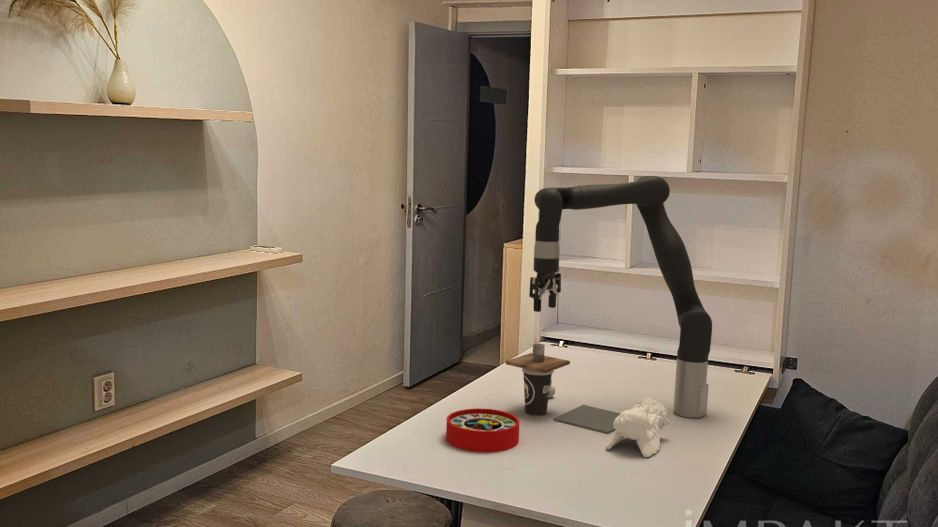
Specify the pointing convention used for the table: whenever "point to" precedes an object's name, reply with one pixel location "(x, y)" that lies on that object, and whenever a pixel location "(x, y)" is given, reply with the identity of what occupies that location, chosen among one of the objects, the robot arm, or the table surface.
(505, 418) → the toy clock
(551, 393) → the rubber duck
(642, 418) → the white lumpy figure
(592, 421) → the charcoal mat
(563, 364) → the walnut lid
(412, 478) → the table surface
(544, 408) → the coffee cup
